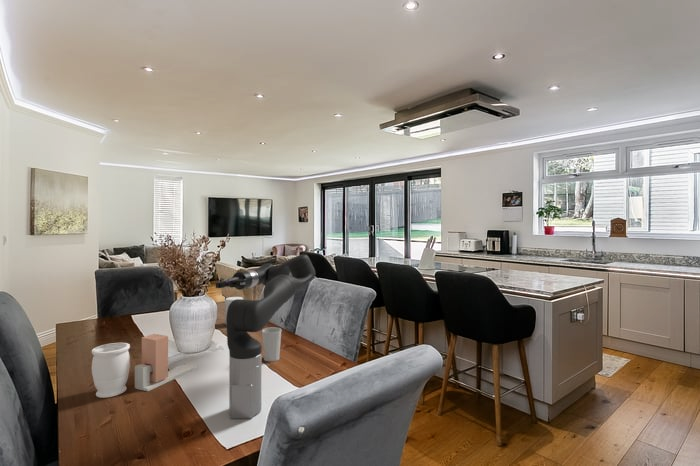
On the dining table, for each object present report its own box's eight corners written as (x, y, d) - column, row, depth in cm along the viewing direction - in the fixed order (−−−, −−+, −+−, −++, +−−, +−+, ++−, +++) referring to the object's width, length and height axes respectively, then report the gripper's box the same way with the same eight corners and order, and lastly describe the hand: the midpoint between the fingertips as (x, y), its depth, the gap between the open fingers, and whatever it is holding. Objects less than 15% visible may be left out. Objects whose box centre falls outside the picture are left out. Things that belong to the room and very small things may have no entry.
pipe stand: (184, 366, 144) (184, 347, 144) (196, 368, 142) (196, 349, 142) (134, 388, 124) (134, 366, 124) (147, 391, 122) (147, 369, 122)
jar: (123, 382, 129) (123, 340, 128) (135, 391, 122) (135, 346, 122) (87, 393, 121) (87, 347, 120) (98, 403, 114) (97, 355, 114)
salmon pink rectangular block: (154, 373, 133) (154, 333, 133) (168, 376, 131) (168, 336, 130) (141, 378, 128) (141, 337, 128) (155, 382, 126) (155, 340, 126)
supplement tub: (247, 323, 206) (247, 297, 206) (233, 327, 198) (234, 300, 197) (234, 321, 211) (234, 295, 210) (221, 325, 203) (221, 298, 202)
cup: (276, 363, 149) (277, 333, 148) (258, 361, 150) (258, 332, 150) (284, 356, 156) (284, 328, 156) (266, 354, 158) (266, 326, 158)
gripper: (233, 269, 161) (203, 274, 145) (258, 271, 156) (230, 276, 140) (233, 287, 161) (203, 293, 145) (258, 289, 156) (230, 296, 140)
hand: (217, 285), depth 142 cm, fingers closed
